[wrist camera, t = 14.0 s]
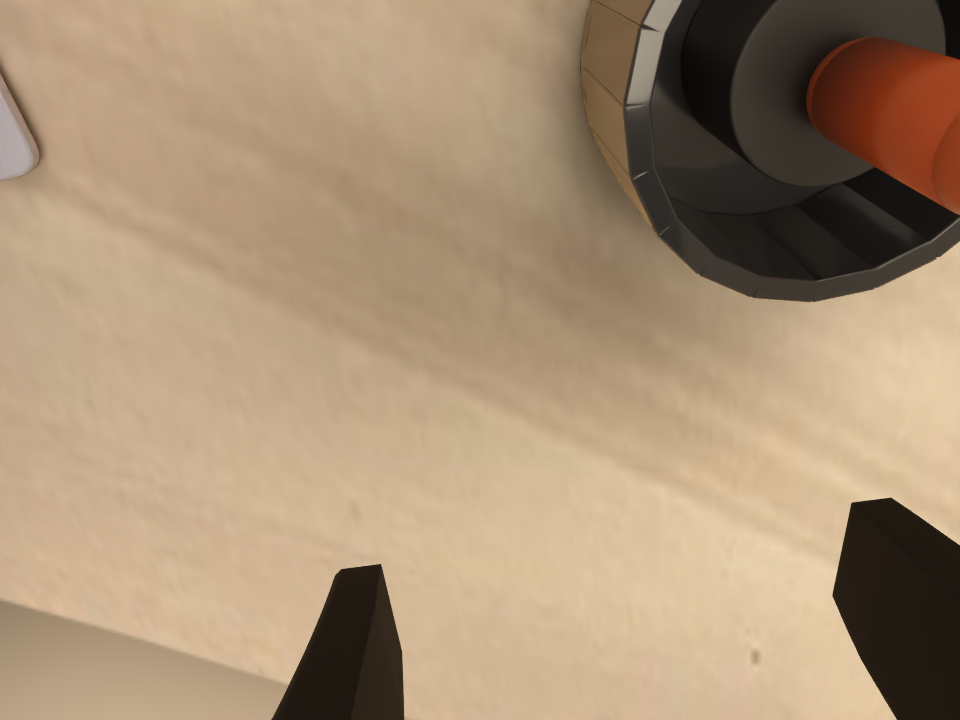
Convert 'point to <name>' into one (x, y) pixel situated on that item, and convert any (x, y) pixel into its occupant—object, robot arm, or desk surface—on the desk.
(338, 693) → the robot arm
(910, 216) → the dark grey round container
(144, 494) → the desk surface
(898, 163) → the brush
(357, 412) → the desk surface
